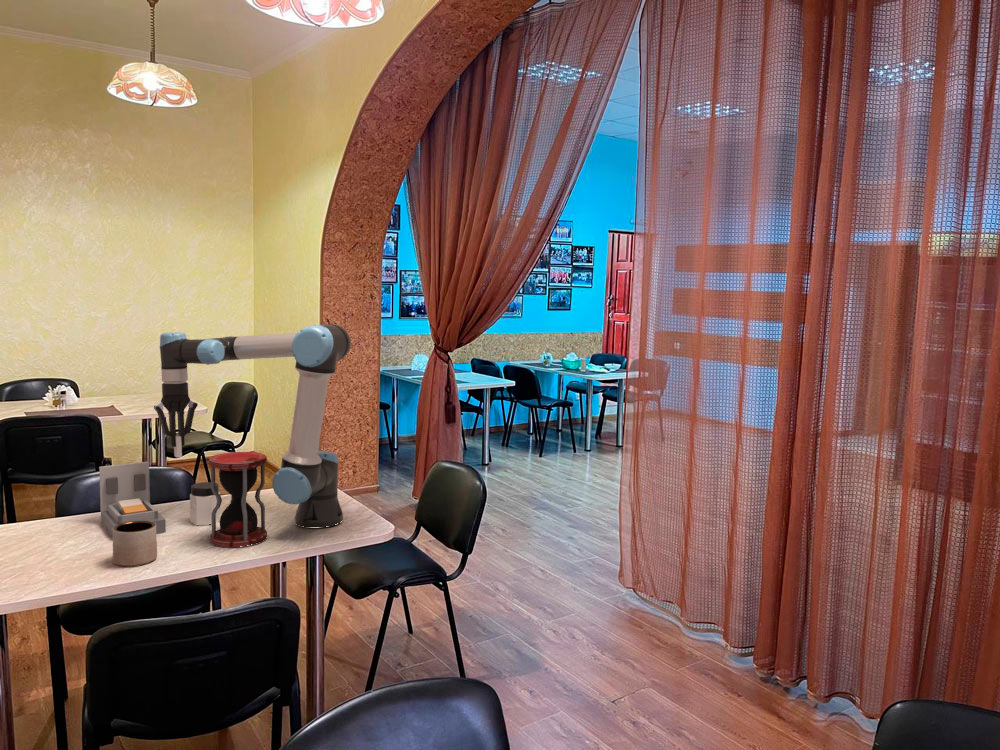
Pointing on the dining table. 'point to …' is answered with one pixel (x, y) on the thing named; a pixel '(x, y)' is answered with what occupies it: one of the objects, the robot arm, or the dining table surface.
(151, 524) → the planter
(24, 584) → the dining table surface
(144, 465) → the grey fixture stand
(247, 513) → the hourglass
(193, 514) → the jar
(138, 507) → the rocker switch
